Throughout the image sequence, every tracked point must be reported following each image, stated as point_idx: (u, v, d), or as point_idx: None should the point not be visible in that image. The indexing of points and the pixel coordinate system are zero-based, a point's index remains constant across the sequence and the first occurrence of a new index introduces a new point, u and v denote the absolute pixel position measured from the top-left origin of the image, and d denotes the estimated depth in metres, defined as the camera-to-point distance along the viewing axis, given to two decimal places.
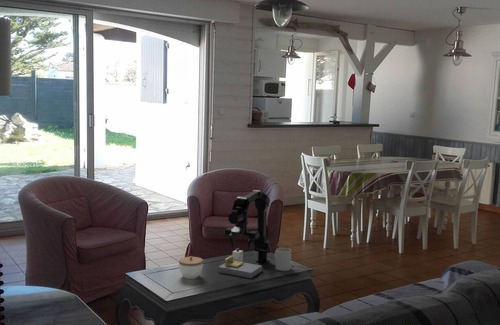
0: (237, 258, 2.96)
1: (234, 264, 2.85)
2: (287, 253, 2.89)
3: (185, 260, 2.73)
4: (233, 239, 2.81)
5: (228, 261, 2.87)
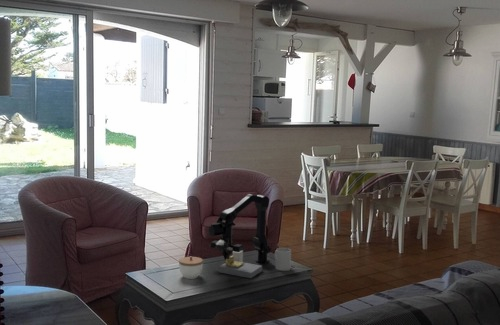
0: (237, 258, 2.96)
1: (235, 264, 2.85)
2: (287, 253, 2.89)
3: (185, 260, 2.73)
4: (225, 253, 2.90)
5: (229, 261, 2.87)
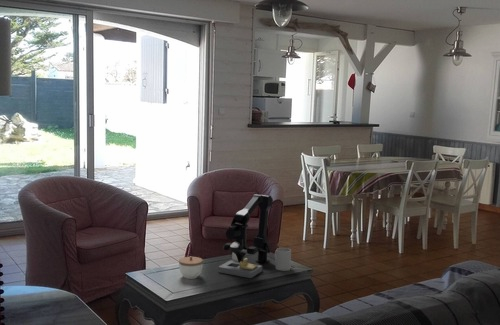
0: None
1: (249, 267, 2.82)
2: (287, 253, 2.89)
3: (185, 260, 2.73)
4: (239, 255, 2.86)
5: (243, 264, 2.83)
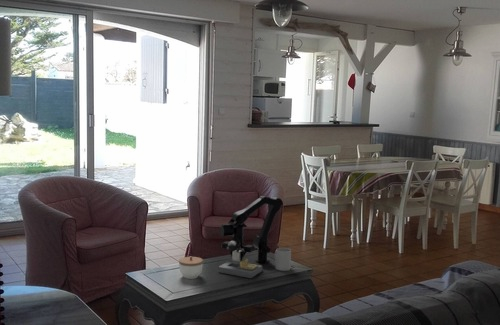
0: (237, 258, 2.96)
1: (249, 267, 2.81)
2: (287, 253, 2.89)
3: (185, 260, 2.73)
4: None
5: (243, 264, 2.83)
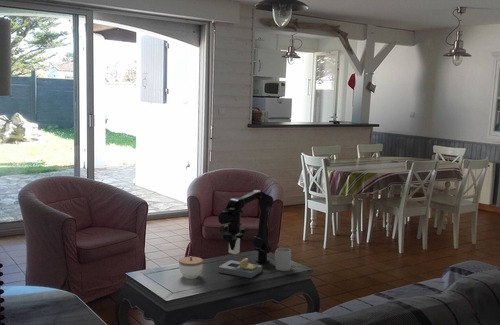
0: None
1: (249, 267, 2.81)
2: (287, 253, 2.89)
3: (185, 260, 2.73)
4: None
5: (243, 264, 2.83)
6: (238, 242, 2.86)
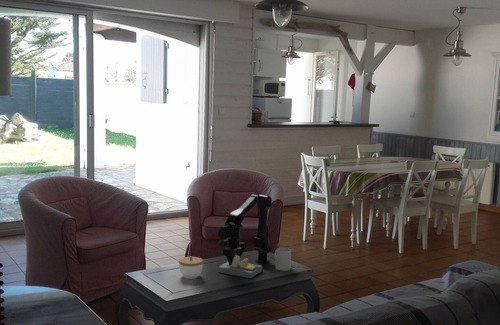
0: None
1: (249, 267, 2.81)
2: (287, 253, 2.89)
3: (185, 260, 2.73)
4: (238, 253, 2.92)
5: (243, 264, 2.83)
6: (237, 260, 2.87)
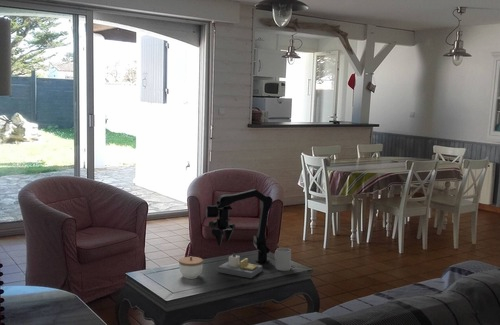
0: None
1: (249, 267, 2.81)
2: (287, 253, 2.89)
3: (185, 260, 2.73)
4: (227, 234, 3.02)
5: (243, 264, 2.83)
6: (237, 260, 2.87)
